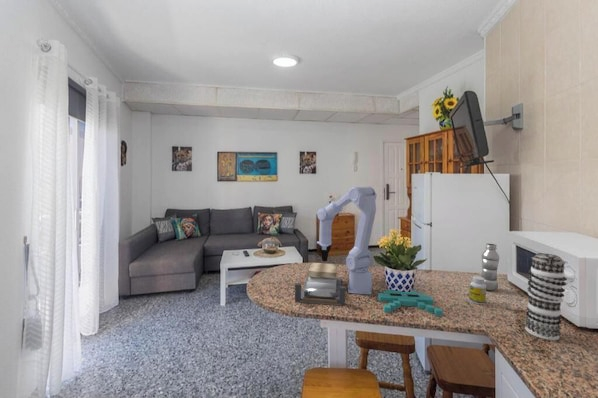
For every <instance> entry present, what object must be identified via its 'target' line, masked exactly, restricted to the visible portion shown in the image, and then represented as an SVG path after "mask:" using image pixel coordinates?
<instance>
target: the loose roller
mask: <svg viewBox="0 0 598 398" xmlns="http://www.w3.org/2000/svg"><path fill="white" fill-rule="evenodd" d="M304 297H306V298H319V299H331V300H336V290H335V289H322V288H309V287H305V291H304Z"/></svg>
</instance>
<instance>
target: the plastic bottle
mask: <svg viewBox="0 0 598 398" xmlns="http://www.w3.org/2000/svg"><path fill="white" fill-rule="evenodd" d="M497 250H498V249H497V244H496V243H486V245H485V250H484V251H483V252H482V253H481V264H482V265H481V266H482V267H481V270H482V271H481V276H480V277H483V278H484V279H485V282H484V284H485V285H486V291H493V292H494V291H496V290H497V289H498V288H499V283H498V267H499V261H500V255H499V253H498V252H497Z"/></svg>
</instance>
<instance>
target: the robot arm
mask: <svg viewBox="0 0 598 398" xmlns="http://www.w3.org/2000/svg"><path fill="white" fill-rule="evenodd" d="M376 200H377V192H376V191H375V189H374V188H373V187H372V186H352V187H351V188H350V189H348V190H347V193H345V194H344V195H343V196H342V197H340V198H339V200H331V201H330V203H329V204H328V205H326V206H325V207H323V208H319V209H318V211H317V215H316V217H317V219H318V220H319V235H318V236H319V238H318V239H319V241H318V240H317V241H316V244H318V245H319V246H318V249H319V251H320V254H321V261H322V262H327V261H328V258H329V253H330V251H331V248H332V246H331V245H332V224H333V222H334V219H335V216H337V215H338V214H339V213H341V212H342V211H343V208H344V207H346V206H347V205H348V204H350V203H352V204H354V205H355V206H356V207H357V208H358V209H359V210H360V216H359V217H360V218H359V221H358V222H359V223H358V225H357V226H358V227H357V232H356V237H355V241H354V246H353V248H351V249H350V250H349V252H348V255H347V257H346V258H345V265H346V267H347V269H348V271H349V275H348V277H349V278H348V285H347V292H348V293H349V294H356V295H357V294H358V295H359V294H360V295H372V289H373V272H372V270H369V267H370V266H371V264H372V252H371V251H370V250H369V244H370V239H371V235H372V231H373V225H374V220H375V218H376V217H375V216H376V213H377V205H376Z"/></svg>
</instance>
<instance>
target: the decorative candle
mask: <svg viewBox="0 0 598 398" xmlns="http://www.w3.org/2000/svg"><path fill="white" fill-rule="evenodd" d="M530 258H531V259H532V260H531V261H532V262H531V264H532V265H531V267H530V269H529V270H527V273H528V274H529V275H528V277H527V279H528V281H527V285H528V287H527V290H528V292H527V295H528V296H529V297H528V302H527V307H526V312H525V315H526V316H525V322H524V323H525V327H524V329H525V331H526V332H527V333H529V334H530V335H532V336H534V337H537V338H540V339H544V340H547V341H557V340H559V339H560V338H561V337H560V335H561V329H562V328H561V325H560V324H562V320H561V319H562V314H561V313H562V309H561V306H562V305H561V304H562V303H563V301H564V297H565V295H564V292H566V289H565V288H563V287H564V286H567V283H566V282H565V281H567V280H568V278H567V277H565V271H564V270H565V264H566V261H564V260H563V259H562V257H560V256H559V255H555V254H552V253H545V252H543V253H542V252H540V253H539V252H538V253H536V254H535V255H534V256H532V257H530Z"/></svg>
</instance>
